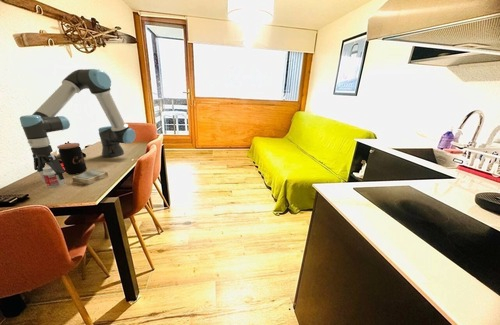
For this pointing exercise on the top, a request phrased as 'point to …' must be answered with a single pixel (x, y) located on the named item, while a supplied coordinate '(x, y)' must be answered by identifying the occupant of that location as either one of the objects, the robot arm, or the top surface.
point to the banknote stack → (90, 177)
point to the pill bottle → (50, 177)
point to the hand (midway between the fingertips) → (54, 183)
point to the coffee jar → (72, 158)
